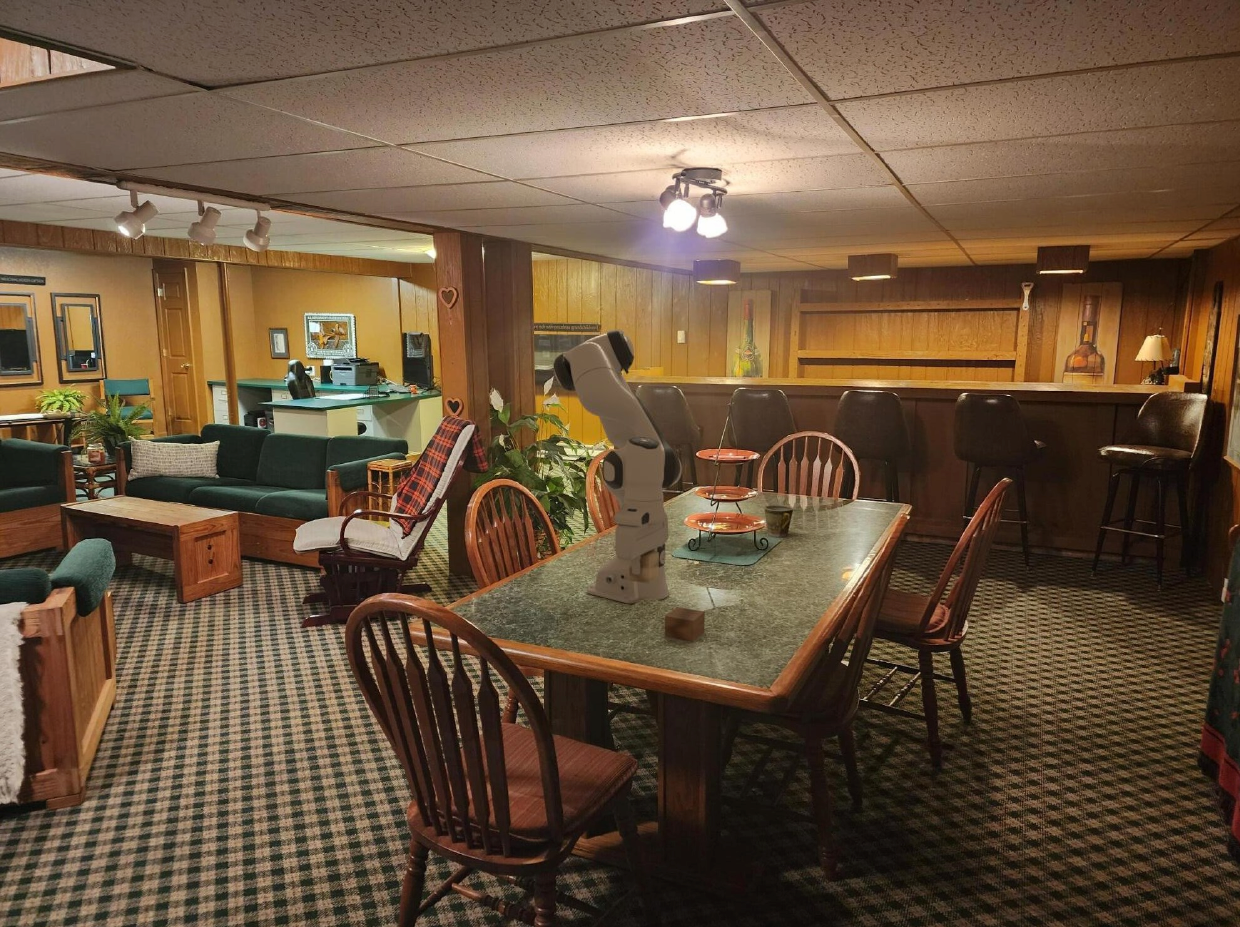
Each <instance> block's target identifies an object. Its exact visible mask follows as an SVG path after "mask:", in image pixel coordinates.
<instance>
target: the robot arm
mask: <svg viewBox="0 0 1240 927" xmlns="http://www.w3.org/2000/svg"><path fill="white" fill-rule="evenodd" d="M634 349H635V348H634V345H633V342H632V341H631V338H630V337H629V336H628V335H627V334H625V332H624V331H623V330H621V329H611V330H609V331H608V330H607V332H606V333H602V334H599V335H596V336H594V337H591V338H589V339H588V340H584V342H582V343H580V344H578V345H576V346H574V347H573V348H571V349H569V350H568V351H566V352H562V353H561V354H559V355H558V356H557V357H556V358H555V359H554V362H553V364H552V365H553V373H554V376H555V379H556V381H557V382H558V384H559V385H560V386H561V387H562V388H563V389H564V390H566V391H569V392H575V393H576V396H577V398H578V400H579V401H578V402H580V404H581V406H582V407H583V409H585V410H586V411H587V412H588V413H590V414H592V415H593V416H596V417H598V418H599V420H600V423H601V426H602V428H603V431H604V433H605V436H606V439H607V440H608V442H609V443H611V445H613V446H615V447H617V449H616V448H615V449H613V450H610V451H609V452H608V453H607V454H606V455H605V457H604V459H603V460H602V468H601V472H602V473H601V474H602V478H603V481H604V485H605V487H606V488H607V491H608V492H610V494H612V496H614V497H615V499H616V500H617V503H618V506H619V509H618V511H616V512H615V514H614V517H613V519H614V520H613V523H614V524H616V527H615V532H614V535H615V536H614V539H615V541H614V543H615V546H614V548H615V549H614V552H615V556H614V557H613V558H611V559H610V560H609V561H607V562H606V563H603V565H602V566H601V567H600V568H598V571H597V572H596V573H597V574H596V578H595V582H593V583H591V584H589V585H588V587H587V594H589V595H593V596H596V597H601V598H605V599H609V600H614V601H617V602H620V603H621V602H622V603H625V604H637V603H638V602H640V601H641V600H643V599H647V600H648V599H649V600H654V601H659V600H663V599H666V598H667V597H668V596H669V595H670V592H669V589H668V583H667V578H666V571H665V564H666V555H667V552H666V543H667V542H668V540H669V517H668V514H667V513H666V512H665V507H664V492H663V490H666V489H669V488H670V487H672V486H673V485H675V484H676V483H678V482H679V480H680V479H681V477H682V474H683V473H682V471H683V468H682V467H683V466H682V463H681V460H680V458H679V457H678V456H677V453H676V451H675V450H674V449H673V448H672V447H671V446H670V445H669V444H668V442H667V441H666V439H665V438H664V436H663V434H662V432H661V431H660V429H659V428H658V426H657V424H656V422H655V421H654V419H653V417H652V416H651V415H652V414H650V412H649V411H648V408H647V407H646V406H645V404H644V402H643V401H642V399H640V397H638V396H637V395H636V394H634V393H633V391H632V390H631V388H630V386H629V384H628V382H627V380H626V379H625V378H624V376H623V375H622V371H623V370H624V372H625V374H626V375H628V374H629V372H630V371H629V369H630V368H631V366H633V362H634V359H635V354H634V353H635V350H634ZM648 551H653V552H659V578H657V579H656V580H654V581H652V582H651V583H642V582H636V581H629V560H630V563H631V565H632V573H633V574H637V575H638V574H640V573H641V572H642V566H641V565H640V561H639V560H640V559H641V555H642V554H644V553H646V552H648Z"/></svg>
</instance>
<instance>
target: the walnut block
mask: <svg viewBox="0 0 1240 927" xmlns="http://www.w3.org/2000/svg"><path fill="white" fill-rule="evenodd" d="M705 613H706V611H703V610H699V609H691V608H685V607H679V606H676V607H675V608H674V609H672V610H671V611H670V612H668V613H667V614H666V615H664V635H665V637H669V638H674V639H680V640H685V641H690V642H694V641H695V640H696V639H697V638H698V637H699V636H700V635H702V634H703V633H704V631H705V618H706V617H705V615H706V614H705ZM674 639H673V640H674ZM685 641H684V642H685ZM690 642H689V643H690Z"/></svg>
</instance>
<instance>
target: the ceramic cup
mask: <svg viewBox="0 0 1240 927" xmlns="http://www.w3.org/2000/svg"><path fill="white" fill-rule="evenodd" d="M793 514H794V507H792V506H789V505H783V504H772V505H771V504H770V505H766V506H764V515H765V516H764V517H765V520H766V528H767V529H766V530H767V534H768V536H770V537H772V538H786V537H787V536H788V535H789V531H790V530H789V529H790V526H791V525H790V524H791V521H792V517H793Z"/></svg>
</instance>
